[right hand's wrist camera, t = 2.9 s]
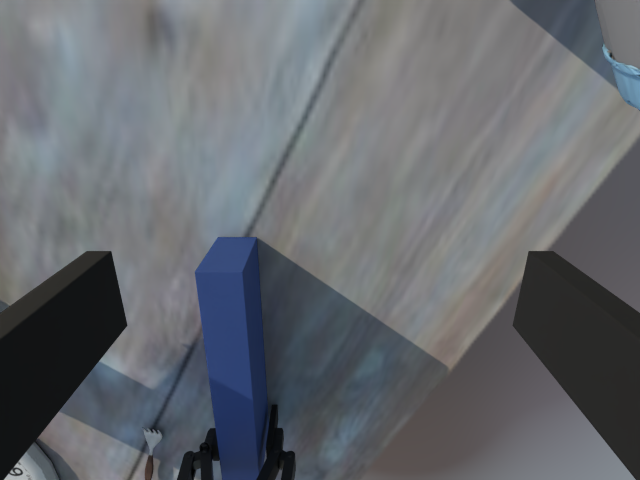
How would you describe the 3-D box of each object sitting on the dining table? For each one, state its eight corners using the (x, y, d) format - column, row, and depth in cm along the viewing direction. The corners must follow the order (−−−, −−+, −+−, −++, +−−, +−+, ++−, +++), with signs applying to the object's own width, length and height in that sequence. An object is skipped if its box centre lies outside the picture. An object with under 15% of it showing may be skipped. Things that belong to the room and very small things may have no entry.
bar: (217, 237, 46) (194, 271, 37) (256, 237, 46) (242, 271, 37) (237, 426, 57) (223, 486, 48) (269, 426, 57) (260, 486, 48)
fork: (139, 491, 61) (133, 503, 60) (146, 416, 56) (140, 427, 54) (156, 493, 62) (151, 506, 60) (164, 419, 56) (159, 430, 54)
